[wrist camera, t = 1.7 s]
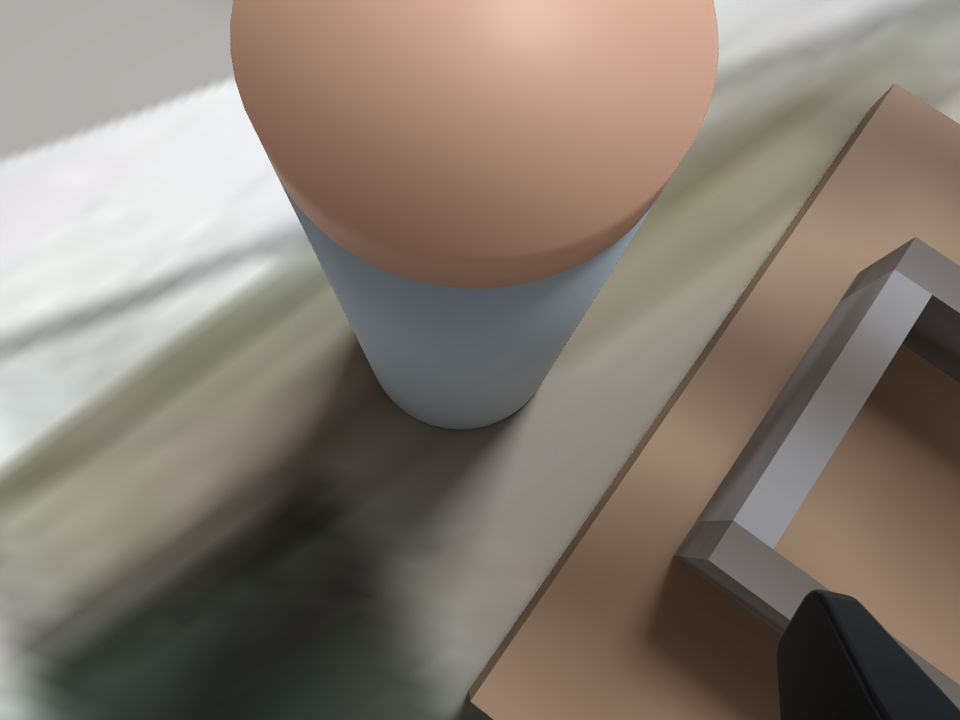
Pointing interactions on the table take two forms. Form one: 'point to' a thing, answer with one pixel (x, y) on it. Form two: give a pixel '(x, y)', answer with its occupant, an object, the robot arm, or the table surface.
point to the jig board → (780, 466)
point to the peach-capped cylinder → (471, 168)
